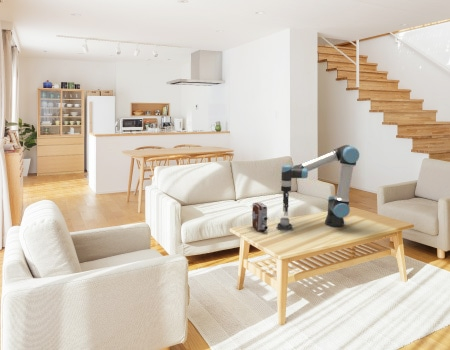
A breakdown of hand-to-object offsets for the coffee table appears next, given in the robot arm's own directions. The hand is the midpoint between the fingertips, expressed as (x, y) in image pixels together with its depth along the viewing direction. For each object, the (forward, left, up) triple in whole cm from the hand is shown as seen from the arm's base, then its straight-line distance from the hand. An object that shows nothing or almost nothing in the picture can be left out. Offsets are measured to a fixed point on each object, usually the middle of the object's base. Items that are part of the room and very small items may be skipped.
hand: (285, 213), depth 303 cm
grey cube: (0, 0, -11) cm, 11 cm away
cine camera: (+19, +5, -12) cm, 23 cm away
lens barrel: (0, 0, -12) cm, 12 cm away
